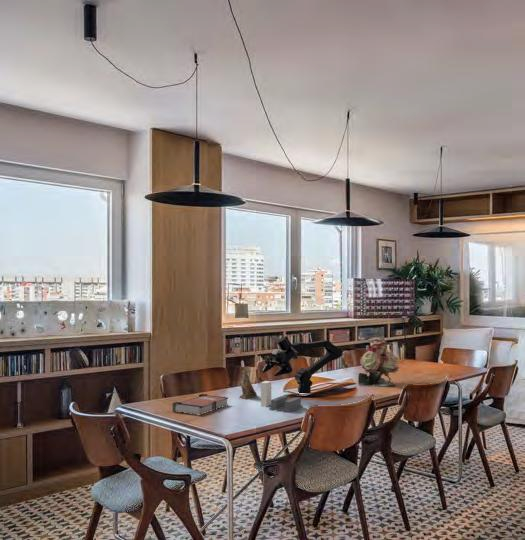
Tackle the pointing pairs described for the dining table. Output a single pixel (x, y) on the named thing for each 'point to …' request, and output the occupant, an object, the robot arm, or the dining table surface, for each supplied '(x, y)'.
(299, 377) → the robot arm
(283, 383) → the dining table surface
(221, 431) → the dining table surface
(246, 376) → the worn brown figurine
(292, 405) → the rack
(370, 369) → the rose bouquet
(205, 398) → the book
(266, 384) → the grey block
